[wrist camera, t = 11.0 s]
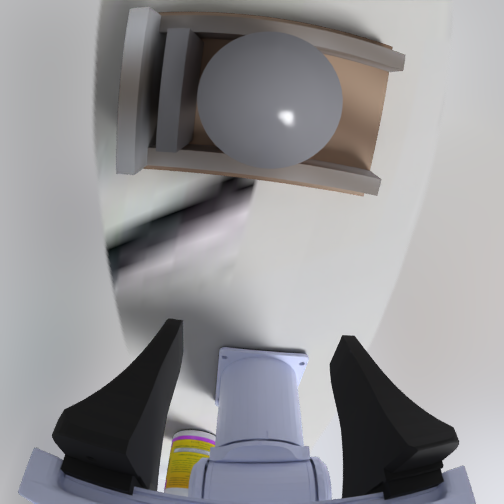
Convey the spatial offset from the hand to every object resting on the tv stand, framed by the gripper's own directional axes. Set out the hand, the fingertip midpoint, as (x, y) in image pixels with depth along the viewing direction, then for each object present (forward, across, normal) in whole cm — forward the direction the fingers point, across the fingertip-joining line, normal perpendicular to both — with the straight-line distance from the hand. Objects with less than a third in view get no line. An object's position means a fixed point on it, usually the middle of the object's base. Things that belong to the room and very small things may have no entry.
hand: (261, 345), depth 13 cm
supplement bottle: (+10, +4, +30) cm, 32 cm away
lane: (+9, +1, -10) cm, 14 cm away
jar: (+8, +1, -10) cm, 13 cm away
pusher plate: (+8, +5, -10) cm, 14 cm away
